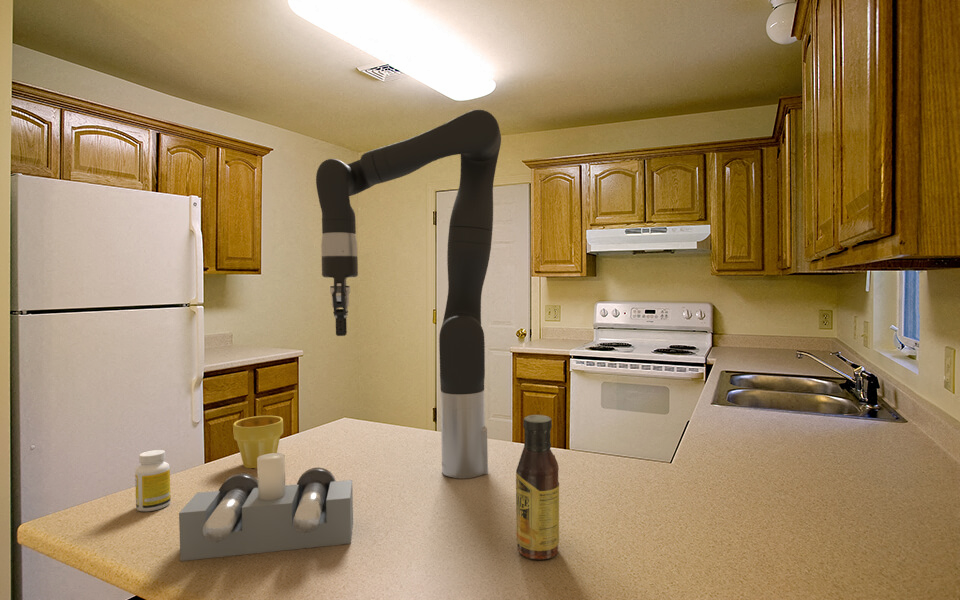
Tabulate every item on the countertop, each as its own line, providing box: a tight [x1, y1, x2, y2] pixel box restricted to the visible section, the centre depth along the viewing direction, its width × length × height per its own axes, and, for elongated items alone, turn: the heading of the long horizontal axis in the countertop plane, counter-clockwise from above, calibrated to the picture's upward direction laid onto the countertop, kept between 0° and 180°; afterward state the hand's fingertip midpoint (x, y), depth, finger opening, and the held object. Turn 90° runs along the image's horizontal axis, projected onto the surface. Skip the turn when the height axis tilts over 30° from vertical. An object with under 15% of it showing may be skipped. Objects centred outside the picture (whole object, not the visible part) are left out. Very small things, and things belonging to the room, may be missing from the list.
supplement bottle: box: [134, 449, 171, 512], centre depth 98 cm, size 5×5×10 cm
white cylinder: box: [256, 452, 286, 500], centre depth 84 cm, size 4×4×6 cm
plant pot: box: [232, 415, 284, 469], centre depth 121 cm, size 10×10×10 cm
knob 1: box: [203, 472, 258, 542], centre depth 82 cm, size 6×14×6 cm, turn 11°
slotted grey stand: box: [178, 479, 354, 562], centre depth 84 cm, size 24×8×7 cm, turn 101°
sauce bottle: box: [515, 414, 560, 561], centre depth 79 cm, size 7×6×20 cm
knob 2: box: [293, 467, 337, 533], centre depth 85 cm, size 6×14×6 cm, turn 11°
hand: (341, 335), depth 117 cm, fingers closed
